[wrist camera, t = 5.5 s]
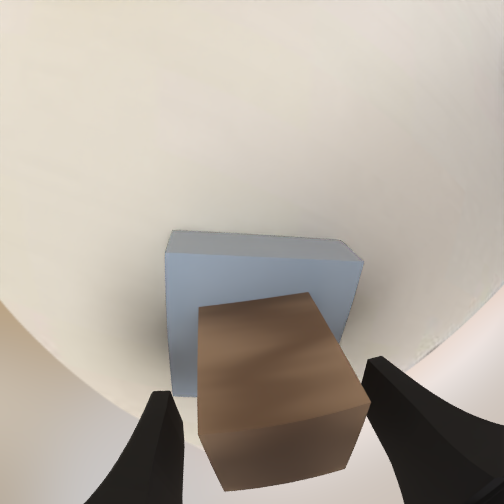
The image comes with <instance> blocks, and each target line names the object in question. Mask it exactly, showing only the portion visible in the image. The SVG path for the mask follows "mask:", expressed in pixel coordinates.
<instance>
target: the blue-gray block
mask: <svg viewBox="0 0 504 504" xmlns="http://www.w3.org/2000/svg"><path fill="white" fill-rule="evenodd" d="M363 264H364V261H363V260H362V259H361V258H360V257H359V256H358V255H357V254H355V253H354V252H353V251H352V250H351V249H350V248H349V247H348V246H347V245H346V244H344V243H343V242H342V241H341V240H331V239H317V238H302V237H287V236H271V235H255V234H238V233H220V232H201V231H181V230H172V233H171V236H170V239H169V242H168V245H167V248H166V251H165V281H166V311H167V331H168V346H169V359H170V371H171V382H172V392H173V396H179V397H197V358H198V312H199V307H202V306H210V305H219V304H227V303H234V302H242V301H249V300H256V299H264V298H271V297H277V296H284V295H291V294H297V293H304V292H309V294H310V295H311V297H312V299H313V300H314V302H315V304H316V306H317V307H318V309H319V311H320V312H321V314H322V316H323V318H324V319H325V321H326V323H327V325H328V326H329V328H330V330H331V331H332V333H333V335H334V337H335V338H336V340H337V342H338V344H339V342H340V339H341V337H342V334H343V331H344V328H345V325H346V321H347V318H348V315H349V312H350V309H351V306H352V302H353V299H354V296H355V292H356V289H357V286H358V282H359V278H360V275H361V271H362V268H363Z"/></svg>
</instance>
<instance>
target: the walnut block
mask: <svg viewBox="0 0 504 504" xmlns="http://www.w3.org/2000/svg"><path fill="white" fill-rule="evenodd" d="M370 404H371V401H370V399H369V397H368V396H367V394H366V392H365V390H364V388H363V387H362V385H361V383H360V381H359V379H358V378H357V376H356V374H355V372H354V370H353V369H352V367H351V365H350V363H349V361H348V360H347V358H346V356H345V354H344V353H343V351H342V349H341V347H340V345H339V344H338V342H337V340H336V338H335V337H334V335H333V333H332V331H331V330H330V328H329V326H328V325H327V323H326V321H325V319H324V318H323V316H322V314H321V312H320V311H319V309H318V307H317V306H316V304H315V302H314V300H313V299H312V297H311V295H310V294H309V292H304V293H297V294H291V295H284V296H277V297H271V298H264V299H256V300H249V301H242V302H234V303H227V304H219V305H210V306H202V307H199V312H198V358H197V407H198V436H199V438H200V441H201V443H202V445H203V447H204V450H205V452H206V454H207V456H208V458H209V460H210V463H211V465H212V467H213V469H214V471H215V473H216V476H217V478H218V480H219V482H220V484H221V486H222V488H223V490H224V491H236V490H245V489H253V488H261V487H267V486H273V485H279V484H285V483H290V482H295V481H299V480H304V479H308V478H313V477H317V476H320V475H324V474H328V473H332V472H335V471H339V470H342V469H345V468H346V465H347V463H348V460H349V458H350V456H351V454H352V451H353V449H354V447H355V444H356V442H357V439H358V436H359V434H360V431H361V429H362V426H363V423H364V421H365V418H366V415H367V412H368V409H369V407H370Z"/></svg>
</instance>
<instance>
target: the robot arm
mask: <svg viewBox="0 0 504 504" xmlns="http://www.w3.org/2000/svg"><path fill="white" fill-rule="evenodd" d="M361 385H362V387H363V388H364V390H365V392H366V394H367V396H368V397H369V399H370V401H371V404H370V407H369V409H368V412H367V417H368V419H369V421H370V423H371V425H372V427H373V429H374V431H375V433H376V435H377V436H378V438H379V440H380V442H381V444H382V446H383V448H384V449H385V451H386V453H387V455H388V457H389V460H390V462H391V464H392V466H393V469H394V472H395V475H396V478H397V480H398V484H399V487H400V490H401V493H402V496H403V500H404V504H504V425H500V424H496V423H493V422H490V421H487V420H484V419H481V418H479V417H476V416H474V415H472V414H469V413H467V412H465V411H463V410H461V409H459V408H457V407H455V406H453V405H451V404H449V403H448V402H446V401H444V400H443V399H441V398H440V397H438V396H436V395H435V394H433V393H432V392H430V391H429V390H427V389H426V388H424V387H423V386H421V385H420V384H418V383H417V382H416V381H414V380H413V379H412V378H410V377H409V376H408V375H406V374H405V373H404V372H402V371H401V370H400V369H398V368H397V367H396V366H394V365H393V364H392V363H391V362H389V361H388V360H387V359H385V358H384V357H383V356H379V357H375V358H371V359H368V360H367V364H366V368H365V372H364V376H363V379H362V383H361ZM183 466H184V431H183V421H182V419H181V417H180V414H179V412H178V409H177V407H176V404H175V402H174V399H173V397H172V394H171V392H170V391H153V392H152V394H151V396H150V398H149V401H148V403H147V405H146V407H145V410H144V412H143V414H142V416H141V418H140V420H139V422H138V424H137V426H136V428H135V430H134V432H133V434H132V436H131V438H130V440H129V442H128V443H127V445H126V447H125V448H124V450H123V452H122V454H121V455H120V457H119V459H118V461H117V462H116V463H115V465H114V466H113V468H112V470H111V471H110V472H109V474H108V475H107V476H106V478H105V479H104V481H103V482H102V483H101V484H100V486H99V487H98V488H97V489H96V491H95V492H94V493H93V494H92V495H91V497H90V498H89V499H88V500H87V501H86V502H85V503H84V504H182V490H183Z"/></svg>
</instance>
